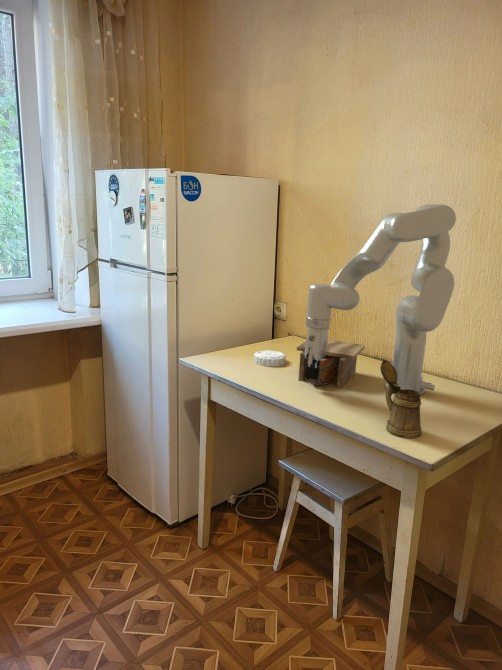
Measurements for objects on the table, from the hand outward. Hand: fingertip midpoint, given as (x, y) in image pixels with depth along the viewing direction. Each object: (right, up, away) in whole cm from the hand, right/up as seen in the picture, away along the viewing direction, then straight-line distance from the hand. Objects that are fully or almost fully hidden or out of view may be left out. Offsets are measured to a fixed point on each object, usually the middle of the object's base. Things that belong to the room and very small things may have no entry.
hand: (312, 378), depth 166 cm
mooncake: (-13, +3, +30) cm, 33 cm away
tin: (+5, -2, +8) cm, 10 cm away
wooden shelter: (+7, -1, +15) cm, 17 cm away
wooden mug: (+20, -12, -26) cm, 35 cm away
